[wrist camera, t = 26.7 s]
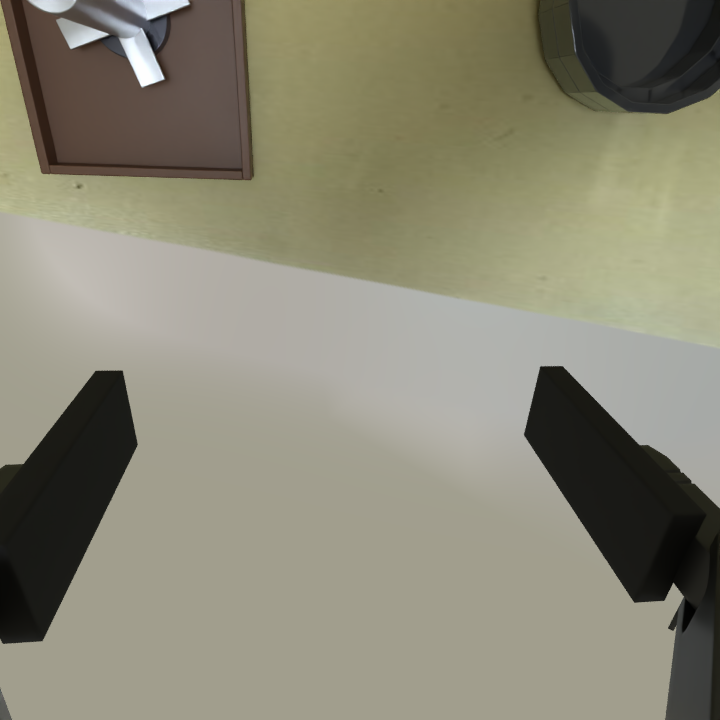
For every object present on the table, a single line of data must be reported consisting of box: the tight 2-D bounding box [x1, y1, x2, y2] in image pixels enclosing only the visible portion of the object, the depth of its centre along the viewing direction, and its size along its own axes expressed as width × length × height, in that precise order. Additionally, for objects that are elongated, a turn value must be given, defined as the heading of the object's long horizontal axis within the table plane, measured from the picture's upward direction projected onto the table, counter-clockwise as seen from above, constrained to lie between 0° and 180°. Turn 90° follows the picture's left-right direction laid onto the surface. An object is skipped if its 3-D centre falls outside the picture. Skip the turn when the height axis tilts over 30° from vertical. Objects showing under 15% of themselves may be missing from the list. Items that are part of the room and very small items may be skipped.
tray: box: [1, 0, 254, 180], centre depth 31 cm, size 14×19×2 cm
